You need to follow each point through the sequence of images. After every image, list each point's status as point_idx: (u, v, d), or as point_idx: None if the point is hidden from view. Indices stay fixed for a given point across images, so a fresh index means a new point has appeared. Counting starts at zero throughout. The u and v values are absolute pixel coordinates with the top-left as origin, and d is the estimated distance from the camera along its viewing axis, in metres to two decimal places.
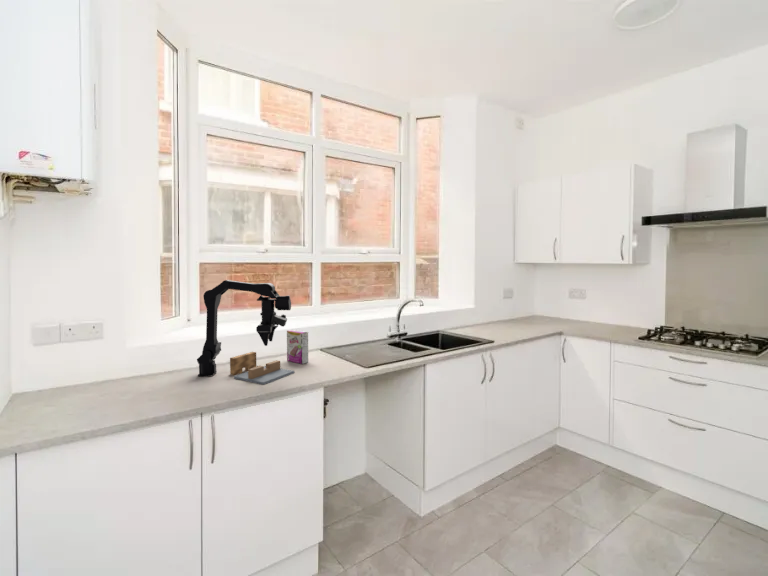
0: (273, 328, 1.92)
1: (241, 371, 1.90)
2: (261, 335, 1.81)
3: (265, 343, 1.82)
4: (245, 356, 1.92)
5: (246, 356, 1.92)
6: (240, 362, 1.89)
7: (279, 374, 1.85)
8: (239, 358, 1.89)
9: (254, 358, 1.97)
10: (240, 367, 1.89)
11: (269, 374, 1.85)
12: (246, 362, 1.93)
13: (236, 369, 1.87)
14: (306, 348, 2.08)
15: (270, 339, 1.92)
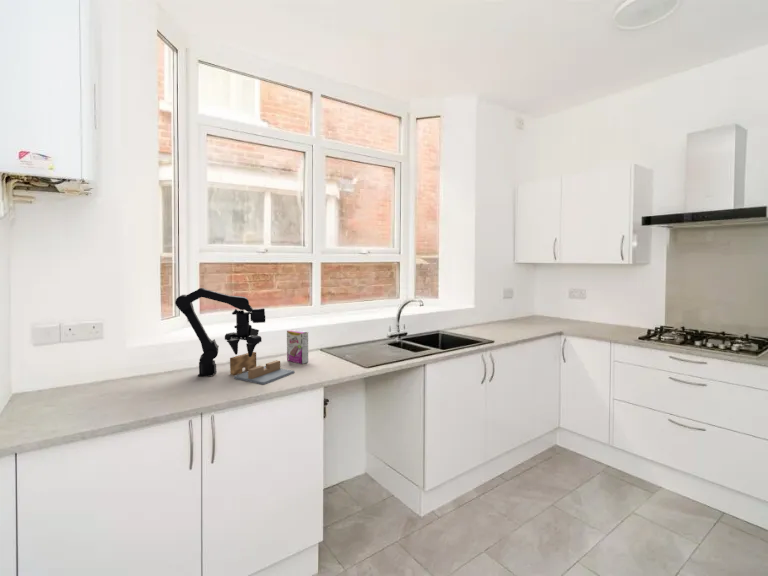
0: (237, 341, 1.95)
1: (241, 371, 1.90)
2: (250, 347, 1.88)
3: (250, 354, 1.90)
4: (245, 356, 1.92)
5: (246, 356, 1.92)
6: (240, 362, 1.89)
7: (279, 374, 1.85)
8: (239, 358, 1.89)
9: (254, 358, 1.97)
10: (240, 367, 1.89)
11: (269, 374, 1.85)
12: (246, 362, 1.93)
13: (236, 369, 1.87)
14: (306, 348, 2.08)
15: (236, 352, 1.94)
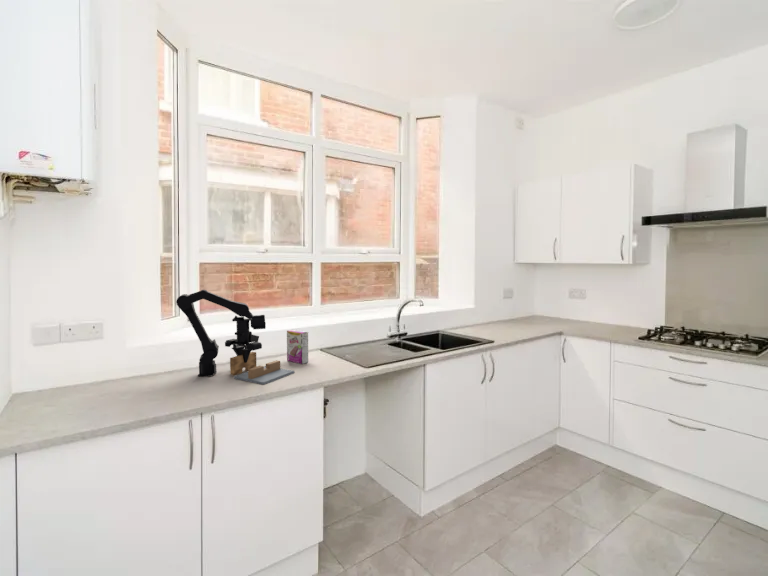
0: (242, 348, 1.94)
1: (241, 371, 1.90)
2: (245, 353, 1.89)
3: (246, 360, 1.91)
4: None
5: None
6: (240, 362, 1.89)
7: (279, 374, 1.85)
8: (239, 358, 1.89)
9: (254, 358, 1.97)
10: (240, 367, 1.89)
11: (269, 374, 1.85)
12: (246, 362, 1.93)
13: (236, 369, 1.87)
14: (306, 348, 2.08)
15: None
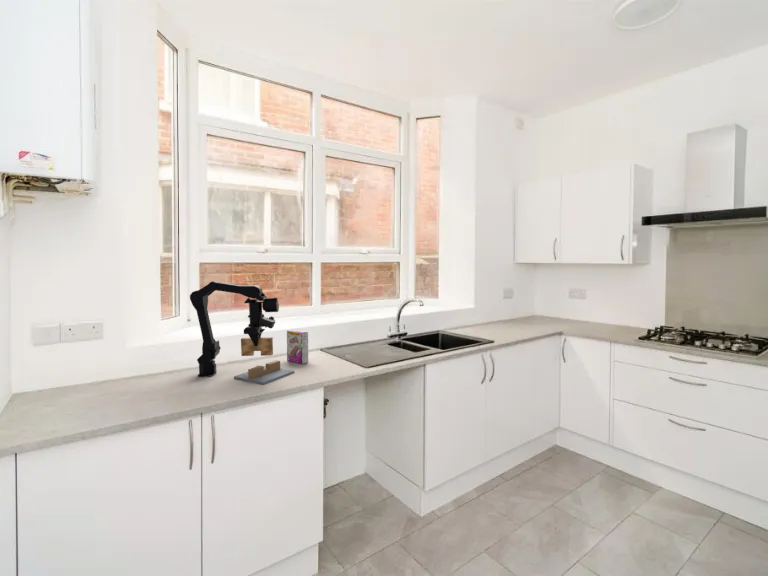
0: (260, 331, 1.89)
1: (251, 354, 1.87)
2: (251, 336, 1.85)
3: (255, 344, 1.86)
4: None
5: None
6: (250, 344, 1.87)
7: (279, 374, 1.85)
8: (248, 340, 1.87)
9: (268, 344, 1.87)
10: (249, 350, 1.87)
11: (269, 374, 1.85)
12: (257, 346, 1.87)
13: (244, 350, 1.87)
14: (306, 348, 2.08)
15: None
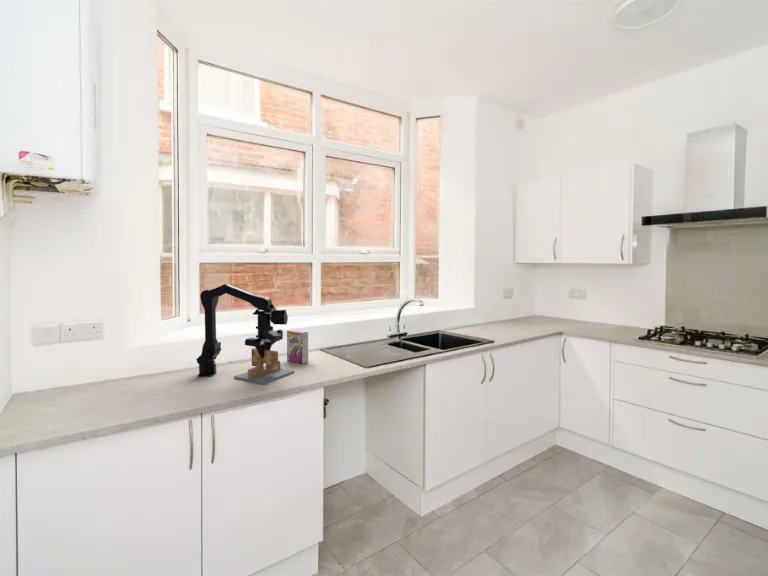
0: (269, 344, 1.86)
1: (258, 365, 1.86)
2: (257, 347, 1.84)
3: (261, 356, 1.84)
4: None
5: None
6: (258, 355, 1.86)
7: (279, 374, 1.85)
8: (256, 351, 1.86)
9: (272, 358, 1.82)
10: (257, 361, 1.86)
11: (269, 374, 1.85)
12: (263, 358, 1.85)
13: (254, 360, 1.88)
14: (306, 348, 2.08)
15: None
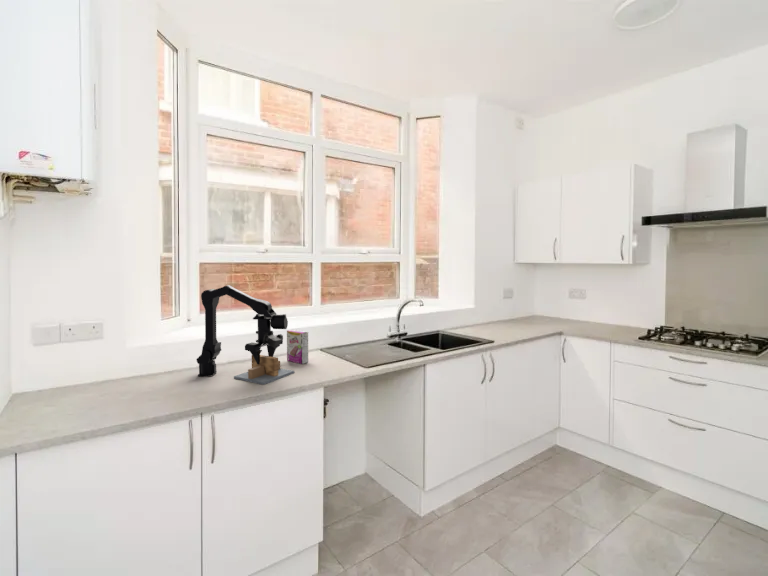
0: (273, 347, 1.89)
1: None
2: (252, 353, 1.81)
3: (257, 362, 1.82)
4: (263, 358, 1.85)
5: (264, 358, 1.85)
6: None
7: (279, 374, 1.85)
8: None
9: (272, 364, 1.82)
10: None
11: None
12: (264, 364, 1.85)
13: None
14: (306, 348, 2.08)
15: None
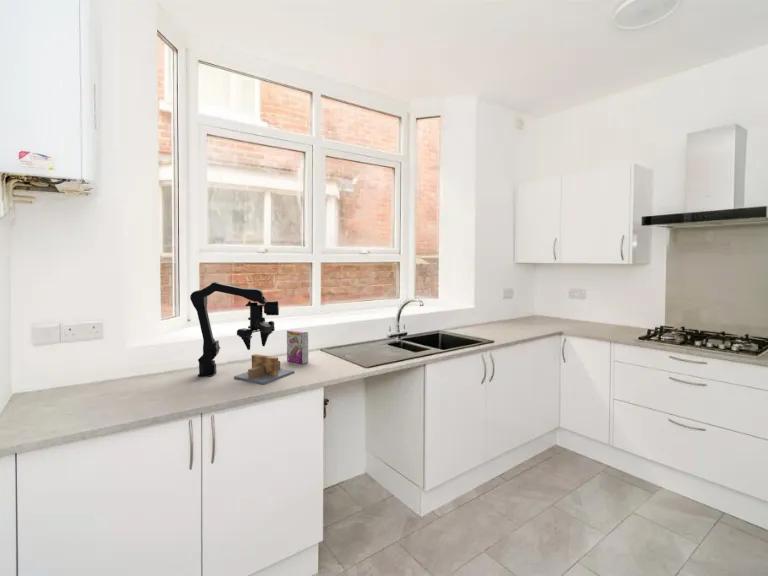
0: (266, 333, 1.94)
1: None
2: (243, 339, 1.86)
3: (247, 347, 1.86)
4: (263, 358, 1.85)
5: (264, 358, 1.85)
6: (258, 361, 1.86)
7: (279, 374, 1.85)
8: (257, 357, 1.86)
9: (272, 364, 1.82)
10: None
11: None
12: (264, 364, 1.85)
13: None
14: (306, 348, 2.08)
15: (263, 344, 1.95)
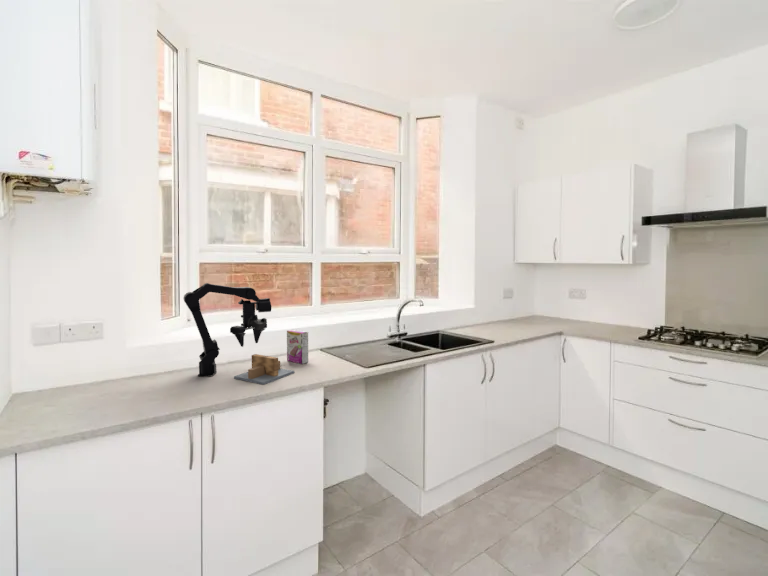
0: (258, 330, 1.99)
1: None
2: (237, 336, 1.91)
3: (241, 344, 1.92)
4: (263, 358, 1.85)
5: (264, 358, 1.85)
6: (258, 361, 1.86)
7: (279, 374, 1.85)
8: (257, 357, 1.86)
9: (272, 364, 1.82)
10: None
11: None
12: (264, 364, 1.85)
13: None
14: (306, 348, 2.08)
15: (256, 341, 2.00)
